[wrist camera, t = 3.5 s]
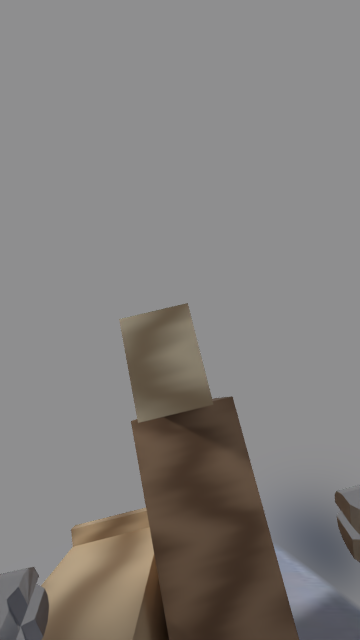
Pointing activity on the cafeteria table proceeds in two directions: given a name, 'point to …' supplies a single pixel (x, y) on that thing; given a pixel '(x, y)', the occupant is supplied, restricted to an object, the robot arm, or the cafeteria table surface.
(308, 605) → the cafeteria table surface
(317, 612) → the cafeteria table surface
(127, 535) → the oak stand
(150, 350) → the maple batten
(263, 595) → the walnut block
